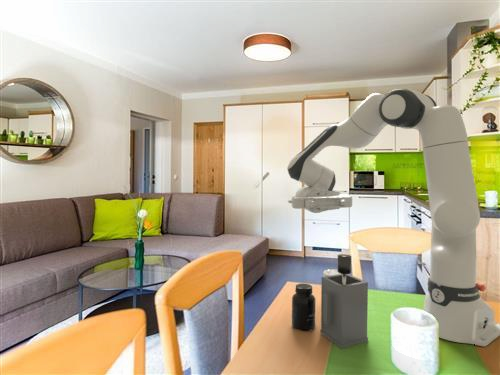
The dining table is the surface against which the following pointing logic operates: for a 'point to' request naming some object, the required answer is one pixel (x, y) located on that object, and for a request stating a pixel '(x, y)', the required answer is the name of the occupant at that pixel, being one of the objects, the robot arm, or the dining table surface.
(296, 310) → the supplement bottle
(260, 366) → the dining table surface
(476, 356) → the dining table surface
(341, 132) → the robot arm
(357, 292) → the gray open square box
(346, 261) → the dark cylinder rod
